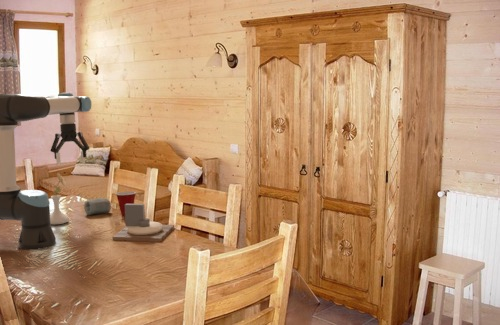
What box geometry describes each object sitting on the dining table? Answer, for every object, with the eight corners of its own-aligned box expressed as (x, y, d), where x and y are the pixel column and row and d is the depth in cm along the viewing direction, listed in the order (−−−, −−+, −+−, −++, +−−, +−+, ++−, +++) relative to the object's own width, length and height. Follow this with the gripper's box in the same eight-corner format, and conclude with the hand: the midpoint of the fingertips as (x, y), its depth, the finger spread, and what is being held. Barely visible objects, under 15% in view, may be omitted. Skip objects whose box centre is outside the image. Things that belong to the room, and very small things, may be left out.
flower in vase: (62, 227, 264) (58, 176, 260) (40, 225, 267) (37, 175, 263) (75, 220, 277) (72, 171, 273) (55, 219, 279) (52, 170, 275)
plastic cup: (135, 211, 295) (134, 189, 293) (139, 215, 285) (138, 193, 283) (114, 213, 290) (113, 191, 289) (118, 217, 281) (117, 195, 279)
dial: (166, 225, 258) (165, 201, 256) (156, 235, 242) (155, 209, 240) (132, 224, 260) (131, 200, 258) (120, 234, 244) (119, 208, 243)
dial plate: (160, 241, 239) (160, 237, 239) (112, 240, 242) (112, 236, 242) (174, 228, 261) (174, 224, 260) (129, 226, 264) (129, 223, 263)
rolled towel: (84, 211, 281) (87, 193, 284) (81, 216, 289) (84, 198, 292) (110, 215, 285) (113, 197, 289) (107, 219, 294) (110, 202, 297)
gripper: (94, 122, 282) (97, 162, 283) (48, 124, 286) (52, 165, 287) (87, 121, 275) (91, 163, 276) (41, 124, 278) (44, 166, 280)
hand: (71, 164), depth 282 cm, fingers open, 13 cm apart
